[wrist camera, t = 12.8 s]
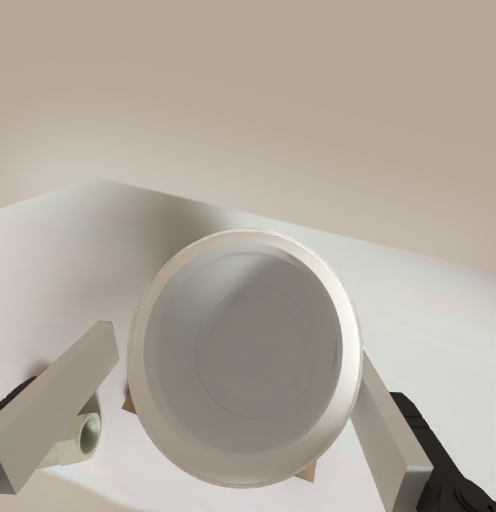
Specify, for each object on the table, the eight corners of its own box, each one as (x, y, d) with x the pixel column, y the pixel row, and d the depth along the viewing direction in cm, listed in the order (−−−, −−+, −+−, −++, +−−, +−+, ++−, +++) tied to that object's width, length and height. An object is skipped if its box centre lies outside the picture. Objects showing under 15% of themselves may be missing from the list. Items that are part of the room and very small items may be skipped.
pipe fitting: (31, 389, 25) (9, 473, 21) (-5, 388, 21) (-37, 488, 18) (108, 374, 25) (99, 454, 22) (86, 371, 22) (71, 465, 19)
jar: (217, 291, 27) (161, 219, 13) (311, 302, 25) (359, 234, 12) (196, 399, 23) (83, 461, 9) (307, 419, 21) (376, 528, 7)
